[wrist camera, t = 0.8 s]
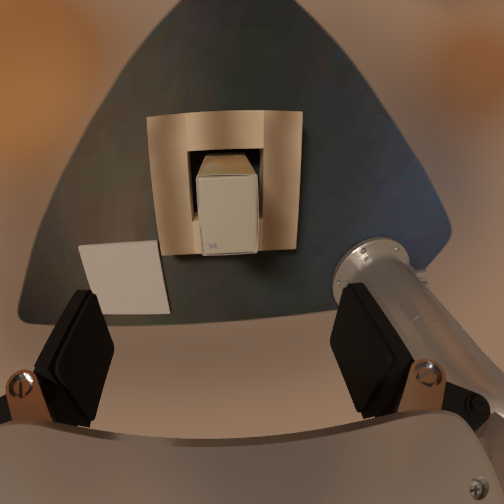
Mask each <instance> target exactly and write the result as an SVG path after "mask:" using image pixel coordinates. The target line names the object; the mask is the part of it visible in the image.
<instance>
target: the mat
mask: <svg viewBox="0 0 504 504" xmlns="http://www.w3.org/2000/svg"><path fill="white" fill-rule="evenodd" d="M78 248H79V252H80V255H81V259H82V262H83V266H84V269H85V272H86V276H87V279H88V282H89V285H90V288H91V291H92V292H93V294H96V295H97V298H98V301H99V304H100V307H101V310H102V313H103V314H170V313H171V311H170V307H169V302H168V297H167V292H166V287H165V281H164V276H163V271H162V265H161V259H160V253H159V247H158V241H157V240H154V241H137V242H121V243H106V244H92V245H79V246H78Z"/></svg>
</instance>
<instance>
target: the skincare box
mask: <svg viewBox="0 0 504 504" xmlns="http://www.w3.org/2000/svg"><path fill="white" fill-rule="evenodd" d="M196 190H197V205H198V218H199V229H200V240H201V249H202V255H203V256H216V255H237V254H248V253H257V251H258V238H259V200H258V176H257V174H256V173H255V171H254V169H253V167H252V166H251V164H250V162H249V160H248V159H247V157H246V155H245V153H211V154H206V156H205V158H204V160H203V163H202V165H201V167H200V170H199V172H198V175H197V177H196Z"/></svg>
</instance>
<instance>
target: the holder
mask: <svg viewBox="0 0 504 504" xmlns="http://www.w3.org/2000/svg"><path fill="white" fill-rule="evenodd" d="M147 130H148V145H149V158H150V169H151V179H152V188H153V197H154V205H155V213H156V221H157V228H158V235H159V242H160V248H161V254H162V256H163V255H183V254H202V249H201V240H200V229H199V218H198V212H194V201H193V187H192V172H191V154H190V151H199V150H218V149H250V148H260V173H259V238H258V251H263V250H284V249H296V240H297V225H298V209H299V192H300V172H301V147H302V112H297V111H267V110H240V111H210V112H194V113H181V114H171V115H161V116H153V117H147Z"/></svg>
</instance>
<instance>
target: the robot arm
mask: <svg viewBox="0 0 504 504" xmlns="http://www.w3.org/2000/svg"><path fill="white" fill-rule="evenodd" d="M427 275H428V274H427V271H426V270H425V269H423V270H417V271H416V270H415V269H414V268H413V267H412V266H411V265H410V261H409V257H408V254H407V252H406V250H405V249H404V247H403V246H402V245H401V244H399V243H398V242H397V241H396V240H394V239H391V238H388V237H374V238H369V239H367V240H364V241H362V242H360V243H358V244H357V245H355V246H354V247H352V248H351V249H350V250H349V251H348V252H347V253H346V254H345V255H344V256H343V257H342V258H341V260H340V261H339V263H338V265H337V266H336V268H335V271H334V273H333V276H332V281H331V290H332V295H333V297H334V299H335V301H336V303H337V304H338V310H337V314H336V318H335V322H334V326H333V330H332V333H331V337H330V345H331V348H332V350H333V353H334V355H335V358H336V360H337V362H338V365H339V368H340V370H341V372H342V375H343V378H344V380H345V383H346V385H347V388H348V390H349V393H350V395H351V398H352V400H353V403H354V406H355V408H356V410H357V412H361V414H362V416H363V419H365V418H370V417H374V416H375V418H372V419H368V420H363V421H359V422H354V423H349V424H345V425H339V426H334V427H329V428H323V429H318V430H312V431H305V432H298V433H291V434H282V435H273V436H263V437H249V438H231V439H180V438H162V437H148V436H137V435H129V434H121V433H113V432H107V431H100V430H94V429H88V428H82V427H77V426H78V425H79V426H84V427H90V423H91V421H93V420H94V419H95V416H96V413H97V409H98V405H99V401H100V398H101V394H102V390H103V387H104V383H105V380H106V376H107V373H108V370H109V366H110V363H111V360H112V357H113V354H114V344H113V341H112V339H111V336H110V333H109V331H108V328H107V325H106V322H105V319H104V316H103V313H102V310H101V307H100V304H99V301H98V298H97V295H96V294H93V292H92V291H91V290H77V291H76V292H75V293H74V295H73V296H72V298H71V300H70V301H69V303H68V305H67V306H66V308H65V310H64V311H63V313H62V315H61V317H60V318H59V320H58V322H57V324H56V325H55V327H54V329H53V331H52V333H51V334H50V336H49V338H48V340H47V342H46V344H45V346H44V348H43V350H42V352H41V353H40V355H39V357H38V359H37V361H36V363H35V365H34V367H35V369H34V372H32V371H29V370H20V371H17V372H16V373H14V374H13V375H12V376H11V377H10V378H9V379H8V381H7V384H6V394H5V395H4V396H2V397H0V504H504V373H503V371H501V369H499V368H498V367H497V366H496V365H495V364H494V363H493V362H492V361H491V359H490V358H489V357H487V356H486V354H484V352H483V351H482V350H481V349H480V348H479V347H478V346H477V344H476V343H475V342H474V341H473V340H472V338H471V337H470V336H469V335H468V334H467V333H466V331H465V330H464V329H463V328H462V327H461V325H460V324H459V323H458V322H457V321H456V319H455V318H454V317H453V316H452V315H451V314H450V313H449V311H448V310H447V309H446V308H445V307H444V306H443V304H442V303H441V302H440V301H439V300H438V299H437V298H436V297H435V295H434V294H433V293H432V292H431V291H430V290H429V283H428V282H427V281H421V280H420V279H425V278H427Z"/></svg>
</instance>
